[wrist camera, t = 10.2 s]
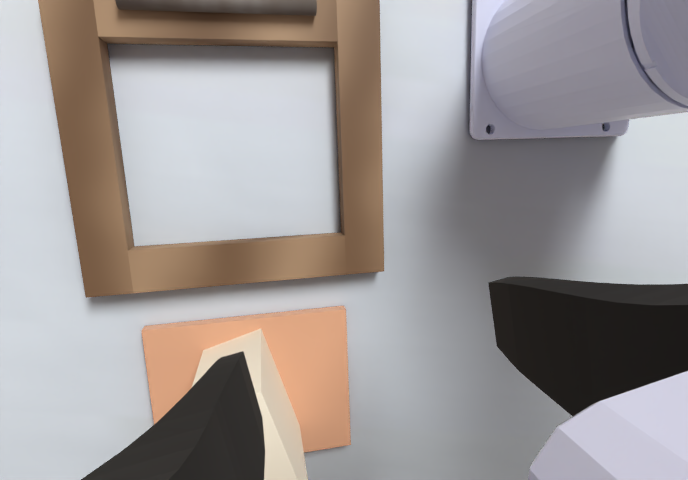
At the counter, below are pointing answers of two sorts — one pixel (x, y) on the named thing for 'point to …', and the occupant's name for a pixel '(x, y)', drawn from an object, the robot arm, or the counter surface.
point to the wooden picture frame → (106, 156)
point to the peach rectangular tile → (288, 354)
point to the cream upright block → (266, 405)
